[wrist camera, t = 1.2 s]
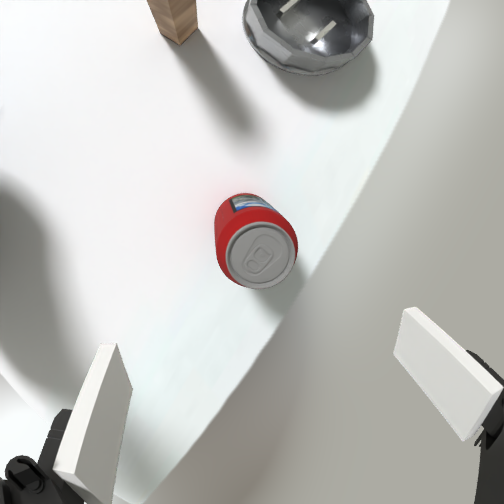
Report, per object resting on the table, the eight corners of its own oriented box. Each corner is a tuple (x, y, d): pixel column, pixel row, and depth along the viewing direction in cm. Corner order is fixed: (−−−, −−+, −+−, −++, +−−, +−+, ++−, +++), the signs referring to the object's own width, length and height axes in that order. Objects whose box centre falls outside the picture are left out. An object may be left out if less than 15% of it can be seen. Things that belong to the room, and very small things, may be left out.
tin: (216, 25, 26) (218, 6, 21) (290, -35, 24) (302, -55, 19) (312, 98, 31) (329, 91, 26) (374, 32, 28) (396, 20, 23)
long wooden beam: (160, 33, 26) (135, -28, 13) (178, 15, 25) (163, -52, 12) (180, 45, 27) (164, -15, 14) (197, 27, 26) (193, -39, 13)
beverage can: (285, 216, 35) (321, 248, 23) (248, 261, 36) (266, 311, 25) (239, 179, 33) (255, 194, 21) (201, 227, 34) (198, 266, 23)
